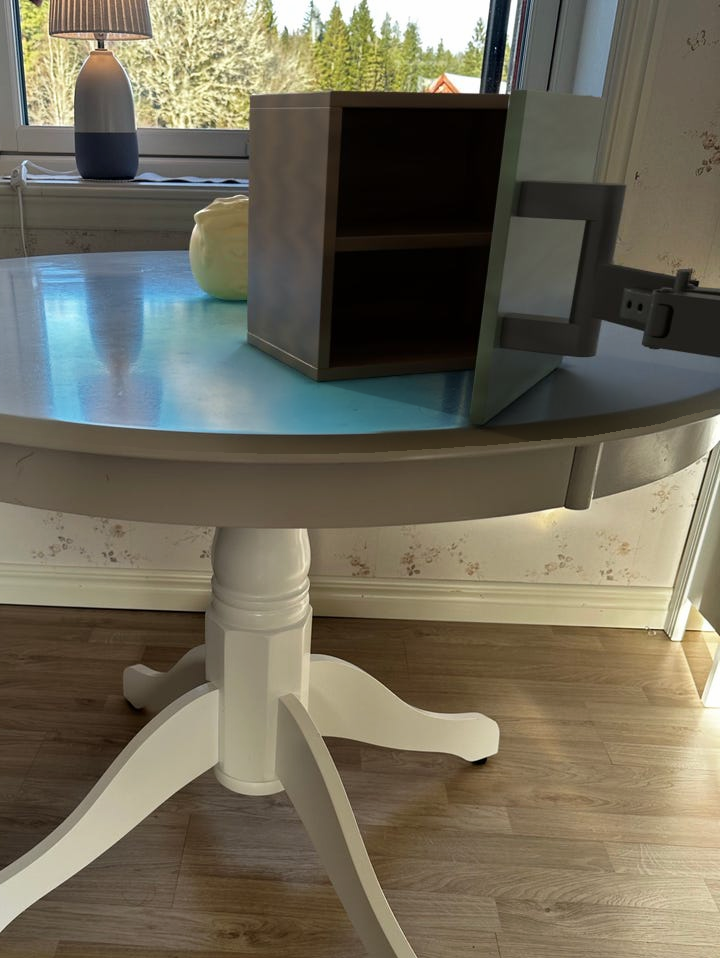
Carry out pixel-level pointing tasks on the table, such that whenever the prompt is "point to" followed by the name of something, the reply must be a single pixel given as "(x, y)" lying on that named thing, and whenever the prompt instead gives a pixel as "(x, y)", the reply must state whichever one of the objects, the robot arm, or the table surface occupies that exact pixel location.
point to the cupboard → (371, 228)
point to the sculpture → (221, 248)
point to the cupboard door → (544, 246)
